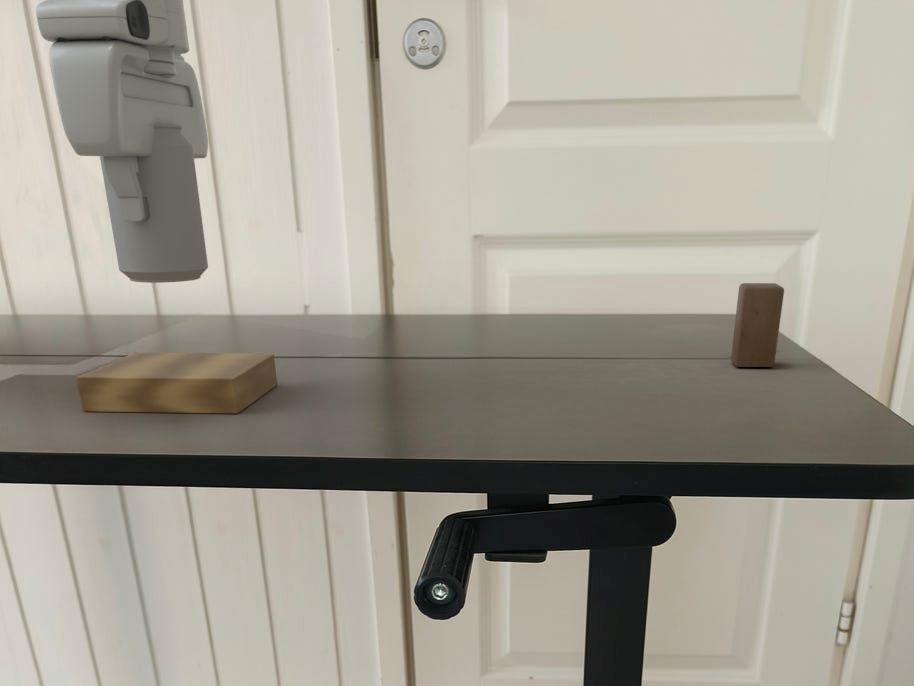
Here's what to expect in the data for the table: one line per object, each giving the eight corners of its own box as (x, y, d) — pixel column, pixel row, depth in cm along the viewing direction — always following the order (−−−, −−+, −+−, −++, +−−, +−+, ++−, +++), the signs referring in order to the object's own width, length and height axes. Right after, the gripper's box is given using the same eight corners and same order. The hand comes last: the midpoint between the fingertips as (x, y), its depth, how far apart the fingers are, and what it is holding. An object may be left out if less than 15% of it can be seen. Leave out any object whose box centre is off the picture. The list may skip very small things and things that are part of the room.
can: (148, 285, 76) (122, 119, 70) (104, 279, 80) (76, 122, 75) (226, 278, 80) (207, 122, 75) (180, 273, 85) (159, 125, 79)
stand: (82, 411, 80) (75, 376, 79) (140, 383, 91) (134, 352, 89) (237, 414, 79) (233, 378, 78) (277, 385, 90) (274, 353, 88)
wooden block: (735, 368, 95) (744, 287, 92) (730, 361, 99) (739, 282, 95) (774, 369, 95) (785, 287, 91) (767, 361, 99) (778, 282, 95)
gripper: (144, 42, 81) (170, 213, 87) (21, 5, 63) (64, 225, 69) (213, 40, 81) (234, 213, 87) (109, 3, 62) (144, 224, 69)
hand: (158, 218), depth 78 cm, fingers closed on can, 7 cm apart
